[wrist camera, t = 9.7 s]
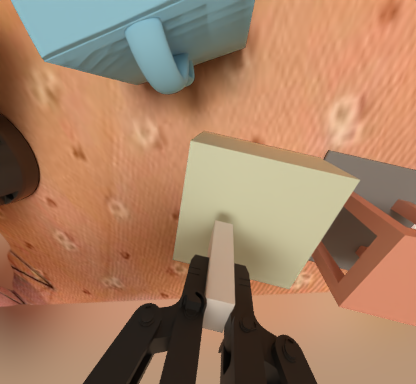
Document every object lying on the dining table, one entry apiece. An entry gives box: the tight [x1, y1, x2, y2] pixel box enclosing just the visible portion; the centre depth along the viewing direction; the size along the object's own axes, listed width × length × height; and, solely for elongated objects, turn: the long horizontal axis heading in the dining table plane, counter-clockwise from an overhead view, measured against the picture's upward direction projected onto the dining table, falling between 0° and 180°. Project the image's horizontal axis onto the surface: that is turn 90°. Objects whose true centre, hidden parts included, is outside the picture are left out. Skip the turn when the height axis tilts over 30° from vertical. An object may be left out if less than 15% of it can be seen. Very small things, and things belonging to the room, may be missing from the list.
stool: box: [311, 191, 416, 326], centre depth 19 cm, size 10×9×9 cm
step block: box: [173, 131, 360, 289], centre depth 20 cm, size 14×14×7 cm
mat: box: [309, 150, 416, 270], centre depth 23 cm, size 14×16×1 cm
